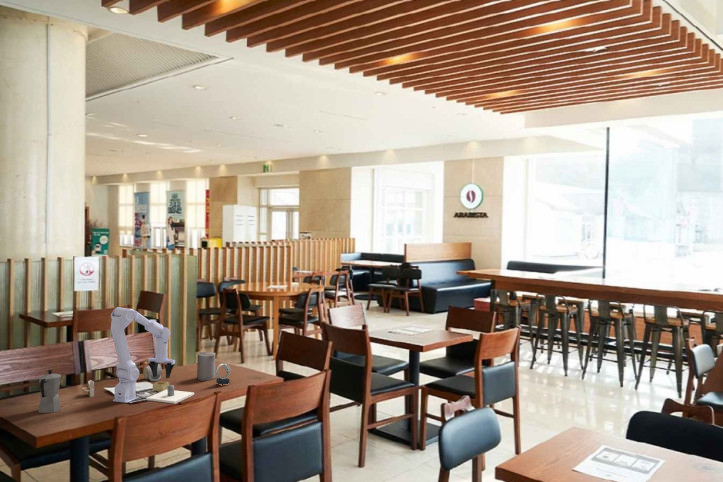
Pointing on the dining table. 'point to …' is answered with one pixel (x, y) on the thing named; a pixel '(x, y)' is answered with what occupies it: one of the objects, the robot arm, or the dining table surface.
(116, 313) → the robot arm
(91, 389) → the architectural model
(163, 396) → the post stand
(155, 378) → the ceramic mug
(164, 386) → the wooden square ring
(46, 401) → the coffeepot
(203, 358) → the pillar candle
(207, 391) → the dining table surface
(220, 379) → the watch
